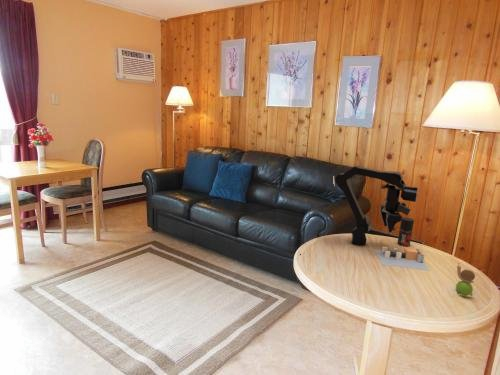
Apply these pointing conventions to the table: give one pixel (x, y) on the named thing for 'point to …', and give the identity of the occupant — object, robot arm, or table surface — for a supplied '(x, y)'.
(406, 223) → the deodorant
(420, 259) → the bracket
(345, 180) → the robot arm
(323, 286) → the table surface
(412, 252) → the plug
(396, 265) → the board
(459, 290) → the snail figurine
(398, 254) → the clips
